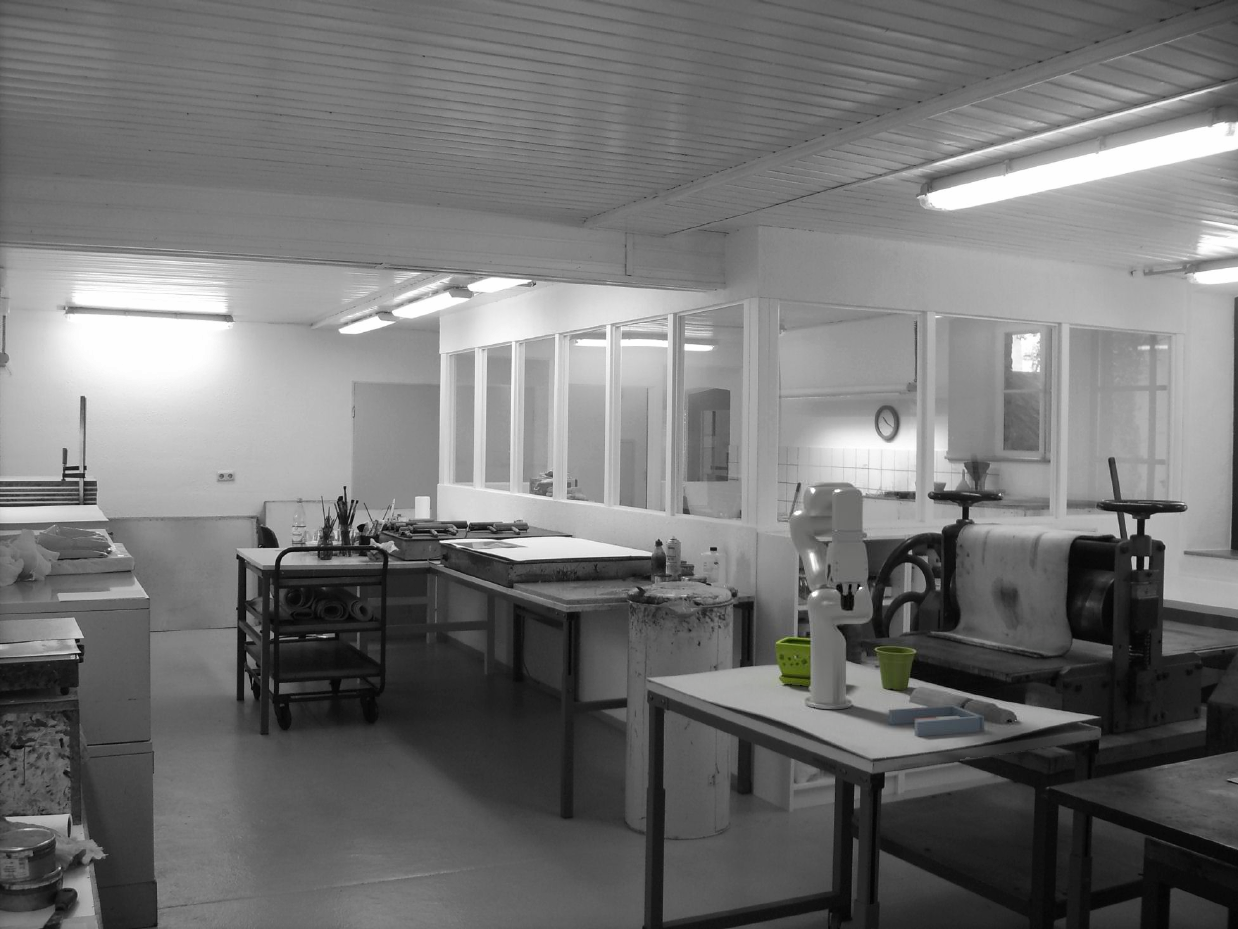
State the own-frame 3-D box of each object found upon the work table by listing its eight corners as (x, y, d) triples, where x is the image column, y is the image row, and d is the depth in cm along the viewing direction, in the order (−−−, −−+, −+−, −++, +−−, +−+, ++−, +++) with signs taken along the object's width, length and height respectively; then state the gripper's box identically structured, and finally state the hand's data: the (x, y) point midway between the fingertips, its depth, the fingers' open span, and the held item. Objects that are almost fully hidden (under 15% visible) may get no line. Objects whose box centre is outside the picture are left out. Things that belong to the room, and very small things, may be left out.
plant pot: (899, 694, 305) (899, 654, 305) (866, 687, 314) (866, 649, 314) (924, 688, 312) (924, 650, 312) (891, 682, 322) (891, 644, 322)
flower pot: (819, 689, 311) (819, 646, 311) (773, 685, 317) (773, 642, 317) (831, 680, 324) (831, 639, 324) (787, 677, 330) (787, 635, 330)
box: (889, 723, 271) (889, 710, 271) (953, 718, 276) (953, 705, 276) (917, 736, 258) (917, 722, 258) (983, 731, 263) (983, 717, 263)
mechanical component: (931, 685, 300) (1020, 705, 274) (931, 700, 300) (1020, 722, 274) (909, 688, 295) (998, 709, 270) (909, 704, 295) (998, 727, 270)
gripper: (866, 535, 275) (866, 607, 275) (813, 537, 270) (813, 609, 270) (881, 537, 267) (881, 611, 267) (827, 539, 263) (827, 613, 263)
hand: (847, 610), depth 269 cm, fingers closed
